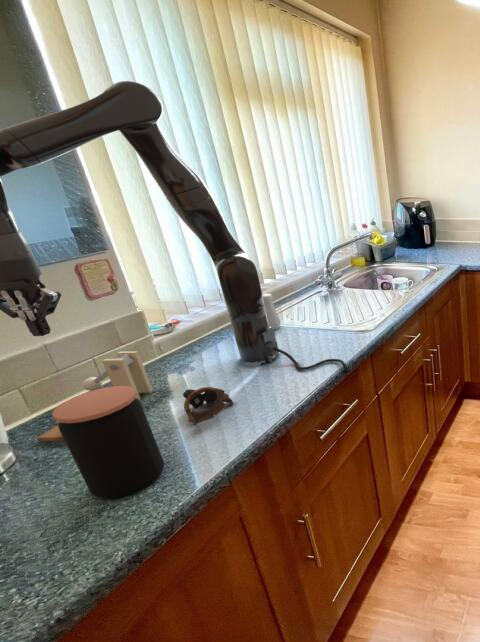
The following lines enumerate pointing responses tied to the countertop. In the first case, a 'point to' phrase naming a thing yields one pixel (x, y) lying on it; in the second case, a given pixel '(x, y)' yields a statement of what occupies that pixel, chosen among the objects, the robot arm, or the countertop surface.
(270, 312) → the salt shaker
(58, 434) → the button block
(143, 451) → the coffee jar
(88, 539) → the countertop surface
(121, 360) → the bracket
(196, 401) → the brown hollow shell
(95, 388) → the lever
